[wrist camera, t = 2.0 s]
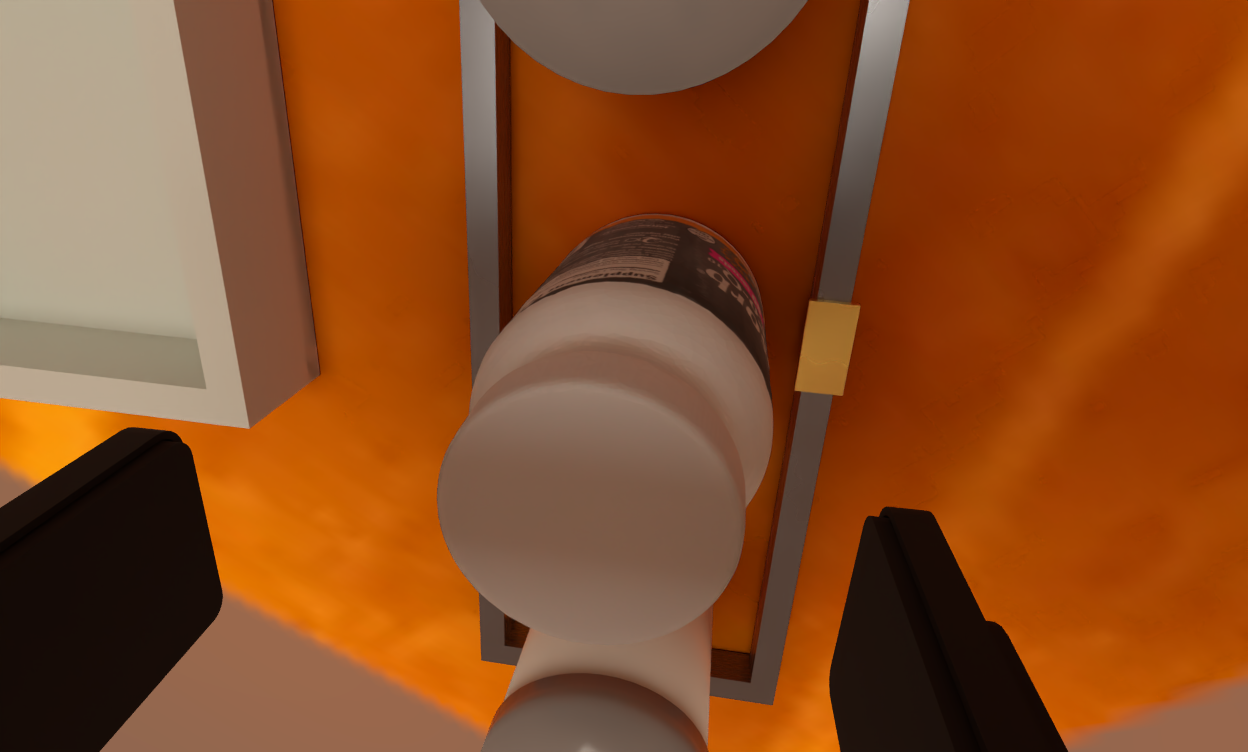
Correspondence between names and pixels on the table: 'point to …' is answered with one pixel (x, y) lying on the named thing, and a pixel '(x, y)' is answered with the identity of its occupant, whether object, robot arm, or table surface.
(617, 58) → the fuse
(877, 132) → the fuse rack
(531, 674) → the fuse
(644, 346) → the pill bottle
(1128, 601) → the table surface
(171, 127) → the tray
